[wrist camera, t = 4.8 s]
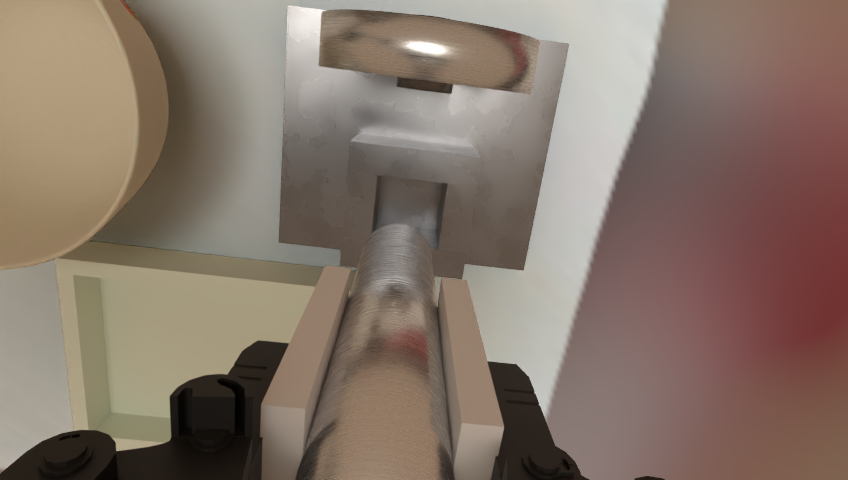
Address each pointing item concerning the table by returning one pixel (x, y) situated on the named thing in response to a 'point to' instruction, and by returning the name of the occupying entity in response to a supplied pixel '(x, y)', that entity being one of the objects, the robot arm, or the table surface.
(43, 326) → the table surface
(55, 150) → the bowl
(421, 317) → the pin
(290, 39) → the block
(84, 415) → the tray
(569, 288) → the table surface
